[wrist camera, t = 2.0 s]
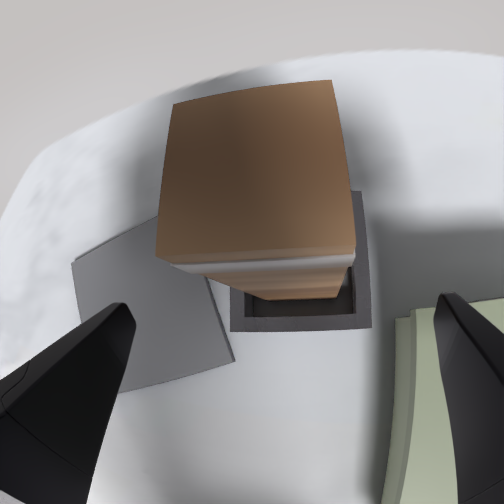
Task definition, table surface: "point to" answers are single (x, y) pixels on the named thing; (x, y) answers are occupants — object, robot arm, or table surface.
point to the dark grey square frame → (358, 320)
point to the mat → (153, 308)
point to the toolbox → (423, 413)
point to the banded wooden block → (259, 192)
